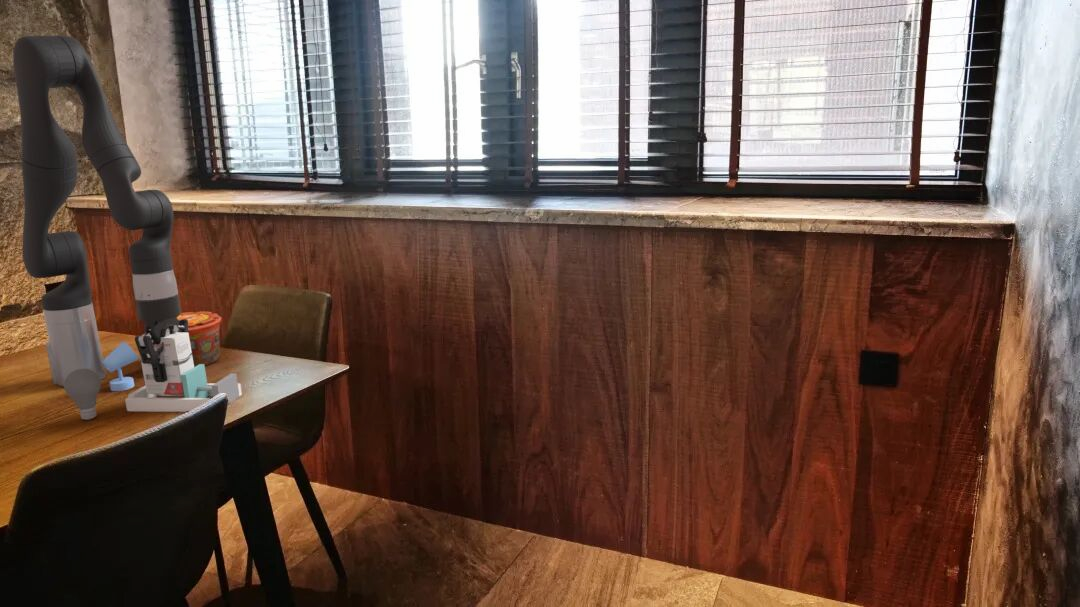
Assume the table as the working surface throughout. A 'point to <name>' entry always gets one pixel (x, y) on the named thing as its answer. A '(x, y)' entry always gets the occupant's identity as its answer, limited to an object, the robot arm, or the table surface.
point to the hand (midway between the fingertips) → (170, 376)
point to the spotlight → (117, 360)
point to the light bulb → (83, 390)
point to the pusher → (195, 383)
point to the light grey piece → (150, 403)
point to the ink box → (170, 365)
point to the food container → (203, 336)
